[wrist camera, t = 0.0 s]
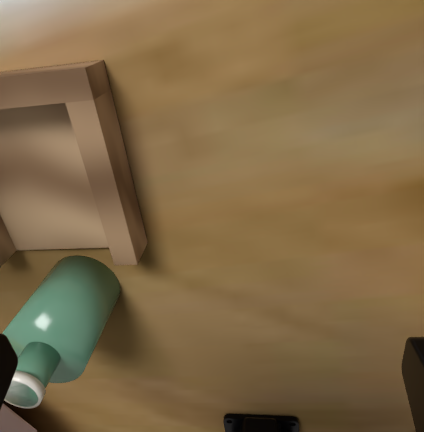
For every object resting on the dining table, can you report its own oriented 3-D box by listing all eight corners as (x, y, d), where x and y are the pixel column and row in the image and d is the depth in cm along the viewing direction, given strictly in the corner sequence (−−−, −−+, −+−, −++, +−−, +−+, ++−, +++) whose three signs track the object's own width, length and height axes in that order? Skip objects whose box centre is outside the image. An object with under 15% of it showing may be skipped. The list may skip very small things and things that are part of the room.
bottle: (127, 310, 29) (77, 425, 21) (64, 310, 30) (-6, 420, 22) (110, 254, 26) (46, 362, 19) (42, 256, 27) (-47, 360, 19)
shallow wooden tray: (147, 242, 25) (137, 264, 23) (0, 247, 27) (-21, 268, 25) (103, 59, 20) (85, 67, 18) (-79, 81, 22) (-115, 90, 19)
